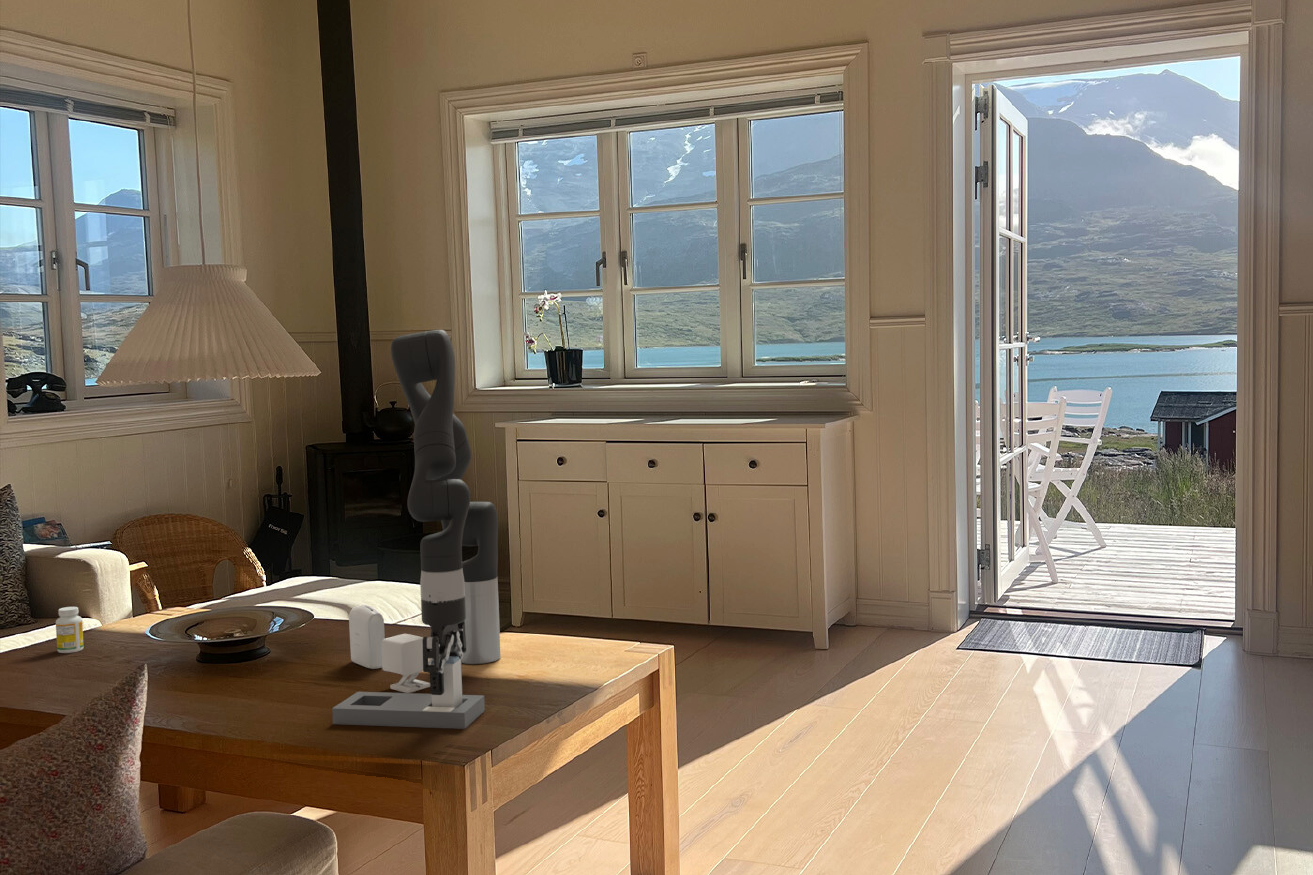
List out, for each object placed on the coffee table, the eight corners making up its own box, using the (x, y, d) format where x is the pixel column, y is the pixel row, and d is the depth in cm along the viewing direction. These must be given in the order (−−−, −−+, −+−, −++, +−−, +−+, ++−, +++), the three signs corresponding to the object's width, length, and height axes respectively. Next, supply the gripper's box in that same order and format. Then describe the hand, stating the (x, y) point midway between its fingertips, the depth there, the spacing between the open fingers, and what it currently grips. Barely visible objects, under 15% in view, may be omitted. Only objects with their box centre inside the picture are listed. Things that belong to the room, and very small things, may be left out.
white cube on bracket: (409, 683, 224) (407, 632, 224) (432, 688, 220) (430, 637, 219) (383, 690, 219) (380, 639, 219) (406, 696, 215) (404, 644, 214)
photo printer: (348, 661, 242) (345, 603, 241) (367, 657, 245) (364, 600, 244) (369, 671, 234) (366, 611, 233) (388, 667, 237) (386, 608, 236)
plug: (441, 714, 202) (439, 654, 201) (463, 715, 201) (460, 655, 200) (432, 721, 198) (430, 660, 197) (454, 722, 197) (452, 661, 196)
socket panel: (358, 709, 208) (357, 690, 207) (484, 713, 203) (484, 694, 203) (333, 727, 198) (332, 707, 198) (465, 732, 193) (464, 711, 193)
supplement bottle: (67, 654, 255) (64, 611, 254) (52, 652, 257) (49, 610, 256) (89, 648, 259) (86, 606, 259) (73, 646, 262) (71, 605, 261)
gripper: (437, 586, 205) (441, 675, 207) (405, 603, 191) (409, 698, 193) (477, 586, 204) (481, 676, 205) (448, 604, 190) (452, 700, 191)
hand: (446, 687), depth 199 cm, fingers open, 8 cm apart
